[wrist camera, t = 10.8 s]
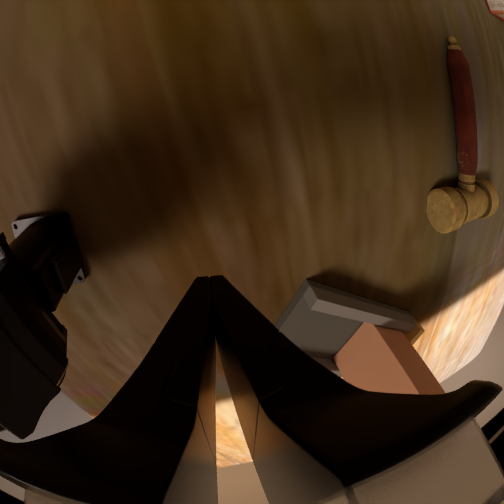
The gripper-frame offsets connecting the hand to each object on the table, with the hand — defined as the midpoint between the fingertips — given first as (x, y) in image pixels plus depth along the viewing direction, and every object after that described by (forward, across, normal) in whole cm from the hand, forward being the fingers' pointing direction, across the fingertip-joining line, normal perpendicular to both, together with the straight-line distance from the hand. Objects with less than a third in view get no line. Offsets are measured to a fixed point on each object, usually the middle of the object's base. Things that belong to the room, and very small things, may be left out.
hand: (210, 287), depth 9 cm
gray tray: (+12, -15, +18) cm, 26 cm away
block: (+11, -18, +19) cm, 29 cm away
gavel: (+13, -25, -7) cm, 29 cm away
